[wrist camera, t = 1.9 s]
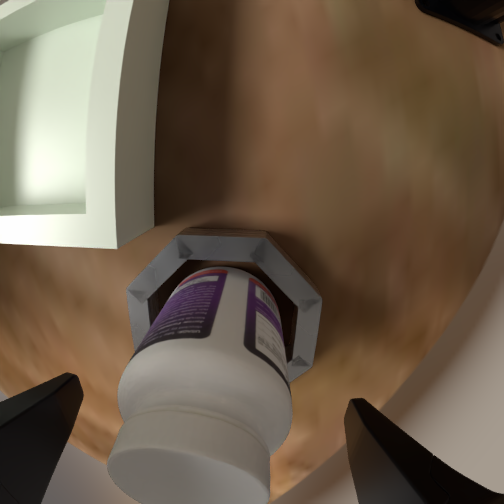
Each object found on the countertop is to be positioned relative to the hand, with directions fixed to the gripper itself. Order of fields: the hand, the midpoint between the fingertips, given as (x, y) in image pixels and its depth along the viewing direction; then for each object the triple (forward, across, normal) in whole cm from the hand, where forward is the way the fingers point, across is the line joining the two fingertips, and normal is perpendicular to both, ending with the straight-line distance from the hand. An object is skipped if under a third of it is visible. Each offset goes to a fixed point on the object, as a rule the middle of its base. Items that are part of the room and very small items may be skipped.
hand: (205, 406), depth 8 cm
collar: (+6, 0, 0) cm, 6 cm away
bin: (+6, +10, -10) cm, 16 cm away
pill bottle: (+7, 0, 0) cm, 7 cm away
